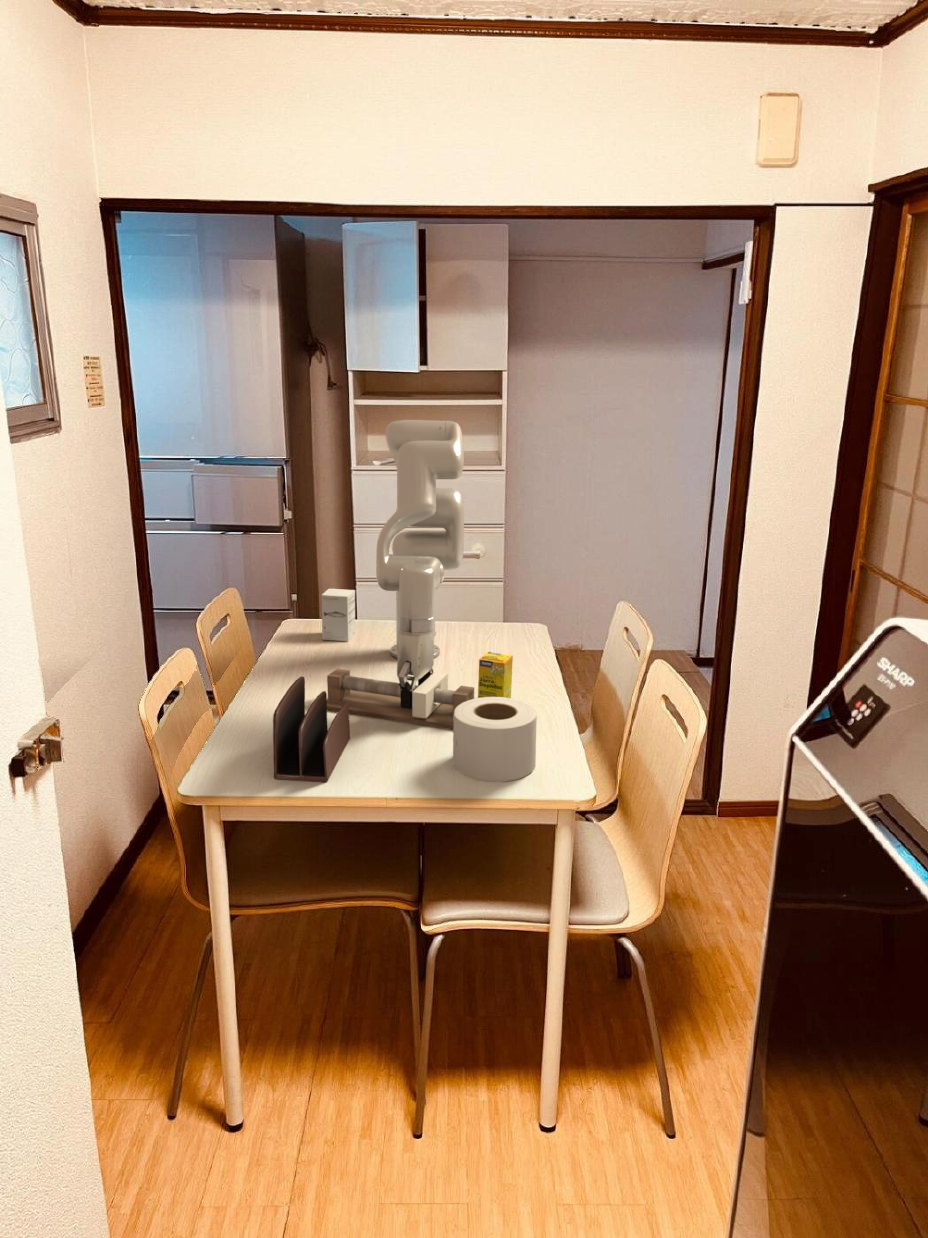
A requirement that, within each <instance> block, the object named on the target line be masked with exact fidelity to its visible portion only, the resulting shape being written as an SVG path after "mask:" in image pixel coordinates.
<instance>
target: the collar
mask: <svg viewBox="0 0 928 1238" xmlns="http://www.w3.org/2000/svg"><path fill="white" fill-rule="evenodd" d="M448 674H449V673H445V672H438V671H437V672H436V671H435V672H434V671H433V674H432V675H431V676H430V677H429V678H428V679H426V680H425V681H424V682H423V683H422V684H421V685H420V686H419V687H418V688H416V689H415V690H414V691H413V692H412V716H413V717H419V718H427V717H428V716H429V715H430V714H431V713H432V712H433V711H434V710H435V709H436V708H437V707H438V706H439V705H440V704H441V703H436V702H434V689H435V688H438V689H445V690H449V689H448V687H449V686H448V684H449V680H448V679H449V677H448V676H449V675H448Z"/></svg>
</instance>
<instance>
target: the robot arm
mask: <svg viewBox="0 0 928 1238" xmlns="http://www.w3.org/2000/svg"><path fill="white" fill-rule="evenodd" d="M460 426H461V425H459V423H458V422H455V421H452V420H430V419H429V420H427V419H426V420H425V419H403V420H401V419H400V420H395V421H392V422H389V424H388V425H387V426H386V428H385V440H386V443H387V447H388V449H389V450H388V451H389V452H390V455H391V456H392V458H393V461H394V464H395V466H396V510H395V512H394V514H392V515H391V517H390V518H389V519H387V520H386V522H385V524H384V525H383V527H382V529H381V530H380V532H379V534H378V538H377V542H376V550H375V551H376V552H375V553H376V562H375V563H376V564H375V565H376V567H375V569H376V571H375V572H376V574H375V575H376V582H377V585H378V586H379V587H380V588H381V590H384V591H386V592H395V595H396V596H395V600H396V601H395V605H396V606H395V607H396V608H395V610H396V613H395V614H396V616H395V617H396V619H395V620H396V624H395V625H396V628H395V629H396V631H395V632H396V633H395V634H396V638H395V639H396V644H394V645H393V646H392V645H391V648H390V651H389V652H390V655H391V656H392V657H394V658H396V659H397V661H396V663H397V664H396V676H397V678H398V683H399V686H400V691H401V707H402V708H407V709H412V692H413V691H414V688H415V685H416V684H417V686H420V685H421V684H422V683H423V682H424V681H425V680H426V679H428V678H429V677H430V676H431V675H432V674H433V673H434V669H433V666H434V664H435V663H434V662H435V661H434V660H435V658H436V657H438V656H439V655H440V654H441V649H440V647H439V646H438V645H436V644H435V640H434V639H435V636H436V635H437V632H436V591H437V590H438V589H439V587H440V585H441V584H442V583H443V581H444V573H445V570H456V569H459V568H460V567H461V565H462V563H463V559H464V542H465V539H464V537H465V535H464V533H465V530H464V529H465V528H464V527H465V524H464V523H465V507H464V506H465V505H464V500H463V496H462V494H461V492H460V491H459V490H457V489H456V488H452V487H437V482H436V481H437V480H457V479H459V478H460V477H461V476H462V474H463V471H464V464H465V460H464V459H465V454H464V444H463V441H464V440H463V433H462V428H461V427H460ZM408 527H411V528H413V527H414V528H443V530H408V531H403V530H404V529H406V528H408ZM402 531H403V532H402ZM391 543H392V545H391ZM390 545H391V546H392V555H390V547H391V546H390ZM409 681H411V683H410V682H409Z"/></svg>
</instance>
